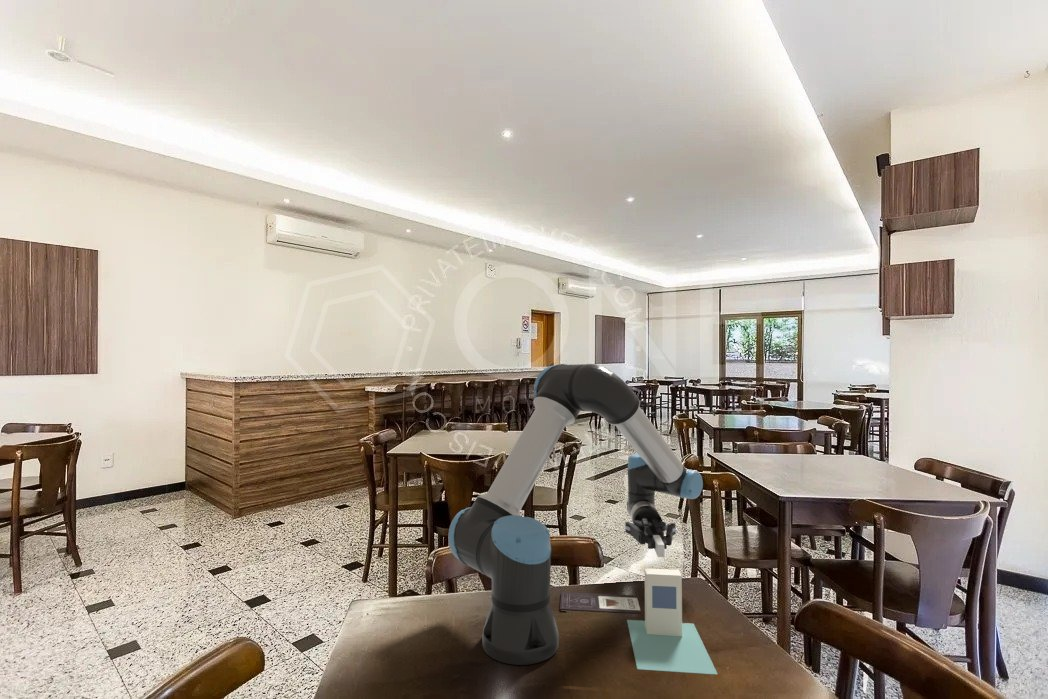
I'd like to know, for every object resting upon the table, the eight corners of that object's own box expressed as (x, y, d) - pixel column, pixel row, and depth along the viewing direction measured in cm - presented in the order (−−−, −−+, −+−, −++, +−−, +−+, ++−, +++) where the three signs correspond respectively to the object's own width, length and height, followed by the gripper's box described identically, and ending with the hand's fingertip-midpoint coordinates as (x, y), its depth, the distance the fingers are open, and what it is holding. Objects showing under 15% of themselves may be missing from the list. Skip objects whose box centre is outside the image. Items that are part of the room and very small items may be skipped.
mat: (637, 671, 89) (637, 669, 89) (626, 621, 106) (626, 619, 106) (717, 676, 87) (717, 674, 87) (693, 625, 105) (693, 623, 105)
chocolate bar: (561, 591, 120) (636, 595, 118) (561, 595, 120) (636, 599, 118) (560, 608, 111) (641, 613, 109) (560, 613, 111) (641, 617, 109)
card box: (647, 634, 101) (646, 574, 101) (644, 626, 104) (644, 568, 104) (682, 636, 100) (681, 575, 100) (679, 628, 103) (678, 569, 103)
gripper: (670, 534, 133) (691, 569, 110) (622, 532, 134) (631, 566, 111) (670, 505, 133) (690, 534, 110) (621, 504, 135) (631, 533, 111)
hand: (661, 550), depth 110 cm, fingers closed
